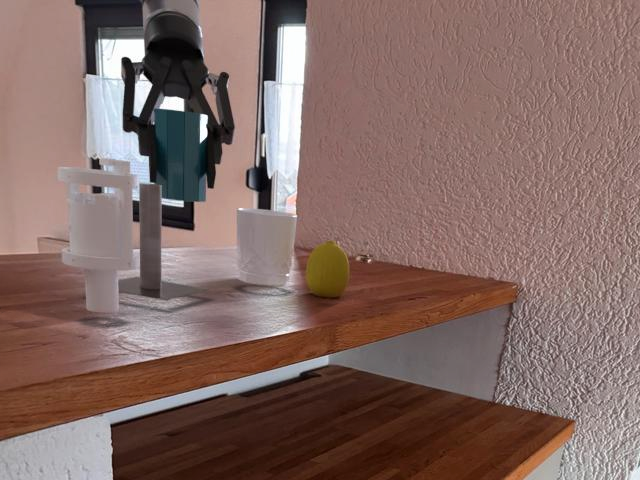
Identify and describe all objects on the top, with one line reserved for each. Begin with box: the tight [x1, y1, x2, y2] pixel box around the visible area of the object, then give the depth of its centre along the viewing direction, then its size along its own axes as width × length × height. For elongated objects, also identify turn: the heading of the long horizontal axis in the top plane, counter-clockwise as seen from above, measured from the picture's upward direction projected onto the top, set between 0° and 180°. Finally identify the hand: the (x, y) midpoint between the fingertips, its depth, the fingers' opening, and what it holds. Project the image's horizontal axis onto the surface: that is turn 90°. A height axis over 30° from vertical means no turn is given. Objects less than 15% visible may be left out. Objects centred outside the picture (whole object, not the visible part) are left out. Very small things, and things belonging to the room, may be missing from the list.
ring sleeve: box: [153, 108, 208, 203], centre depth 91 cm, size 6×6×10 cm
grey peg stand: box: [118, 182, 209, 301], centre depth 83 cm, size 10×10×12 cm
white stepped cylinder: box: [57, 157, 140, 314], centre depth 70 cm, size 7×7×15 cm
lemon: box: [305, 239, 350, 299], centre depth 93 cm, size 6×6×8 cm
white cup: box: [236, 207, 298, 287], centre depth 98 cm, size 8×8×10 cm
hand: (182, 177), depth 89 cm, fingers closed on ring sleeve, 6 cm apart
